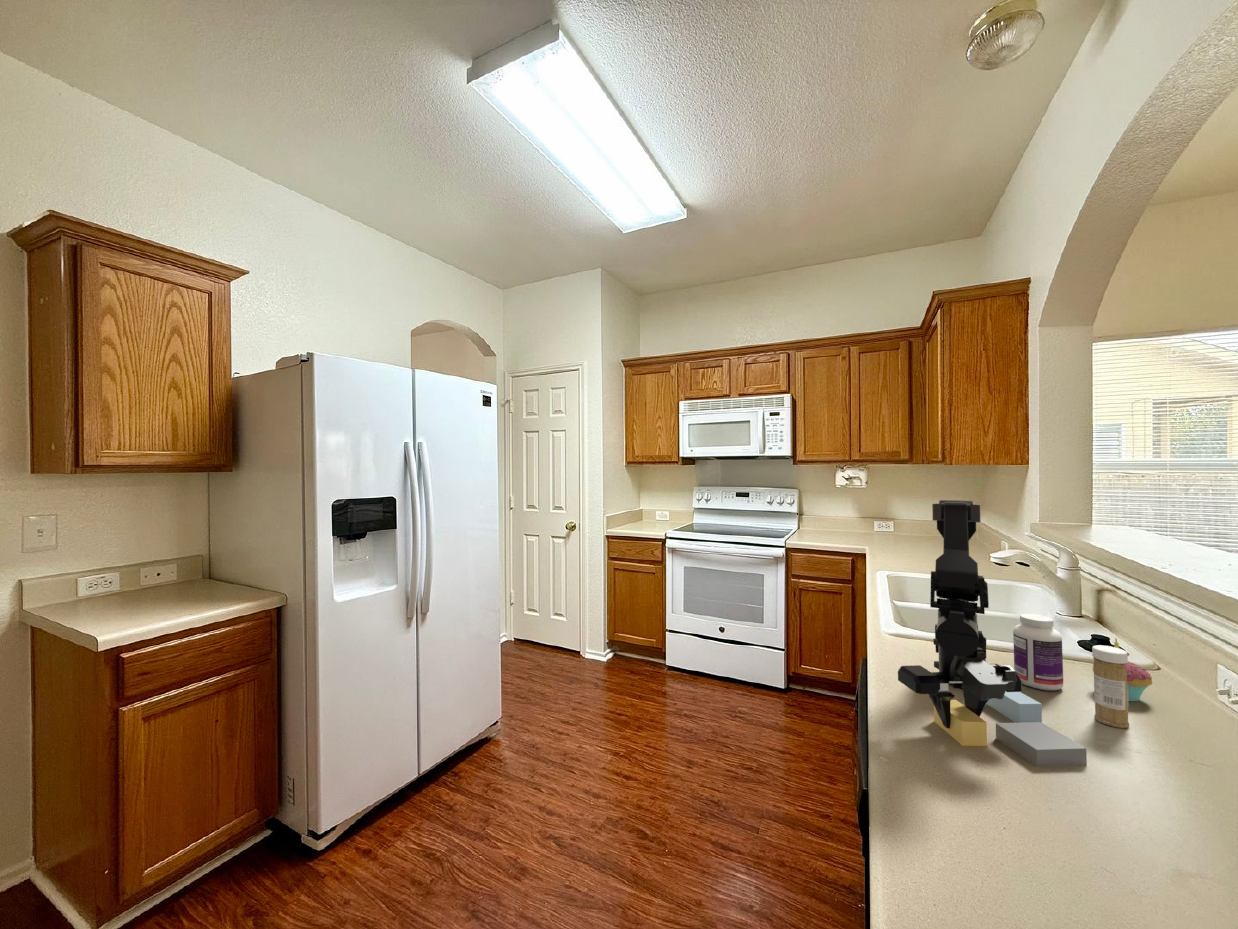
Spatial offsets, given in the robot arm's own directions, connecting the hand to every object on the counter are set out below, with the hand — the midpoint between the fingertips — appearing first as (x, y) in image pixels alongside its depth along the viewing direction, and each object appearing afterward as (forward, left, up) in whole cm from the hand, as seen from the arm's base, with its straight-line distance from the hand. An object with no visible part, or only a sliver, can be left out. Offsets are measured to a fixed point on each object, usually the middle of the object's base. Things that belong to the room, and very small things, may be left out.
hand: (959, 727), depth 86 cm
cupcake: (-12, +43, -1) cm, 45 cm away
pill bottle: (-18, +31, -1) cm, 36 cm away
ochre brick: (0, 0, -1) cm, 1 cm away
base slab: (+6, +9, -2) cm, 11 cm away
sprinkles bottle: (-2, +30, -1) cm, 30 cm away
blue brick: (-6, +15, -1) cm, 16 cm away
